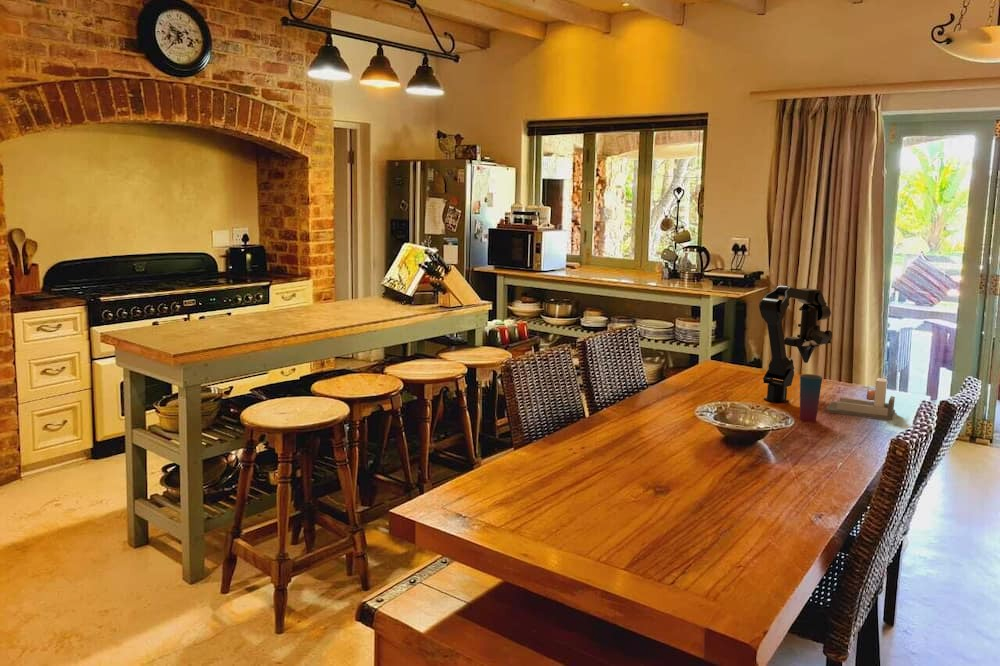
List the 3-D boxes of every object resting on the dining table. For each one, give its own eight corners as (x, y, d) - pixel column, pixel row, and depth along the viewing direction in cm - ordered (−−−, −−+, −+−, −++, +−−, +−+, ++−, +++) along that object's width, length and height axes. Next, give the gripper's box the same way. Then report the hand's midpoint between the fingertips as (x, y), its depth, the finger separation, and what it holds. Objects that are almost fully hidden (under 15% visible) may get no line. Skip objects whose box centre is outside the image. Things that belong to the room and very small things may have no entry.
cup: (795, 421, 254) (799, 377, 251) (798, 416, 260) (801, 373, 257) (817, 423, 251) (821, 379, 248) (819, 418, 257) (823, 375, 254)
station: (826, 411, 265) (827, 395, 264) (831, 404, 275) (832, 388, 274) (891, 420, 255) (893, 403, 254) (894, 412, 265) (896, 395, 264)
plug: (865, 411, 262) (867, 379, 260) (866, 407, 266) (869, 376, 264) (882, 413, 259) (885, 381, 257) (884, 409, 263) (887, 378, 261)
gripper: (807, 326, 275) (804, 369, 277) (844, 323, 283) (840, 364, 285) (784, 322, 285) (781, 363, 287) (820, 319, 293) (817, 359, 295)
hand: (805, 362), depth 289 cm, fingers closed
